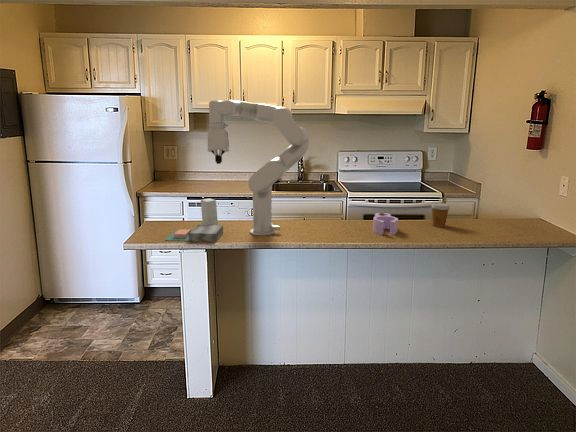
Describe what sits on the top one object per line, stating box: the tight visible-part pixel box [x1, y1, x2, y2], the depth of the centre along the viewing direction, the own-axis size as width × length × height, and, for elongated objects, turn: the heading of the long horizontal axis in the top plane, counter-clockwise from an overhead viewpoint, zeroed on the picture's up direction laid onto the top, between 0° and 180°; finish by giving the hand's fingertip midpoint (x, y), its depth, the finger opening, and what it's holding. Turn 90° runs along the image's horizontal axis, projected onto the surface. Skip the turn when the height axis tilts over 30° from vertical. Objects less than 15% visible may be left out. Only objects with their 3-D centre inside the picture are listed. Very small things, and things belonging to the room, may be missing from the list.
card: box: [173, 228, 192, 238], centre depth 224 cm, size 6×9×2 cm, turn 176°
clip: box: [372, 212, 399, 236], centre depth 236 cm, size 20×12×7 cm, turn 178°
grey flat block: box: [188, 224, 224, 243], centre depth 222 cm, size 13×16×4 cm
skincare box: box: [200, 198, 219, 225], centre depth 241 cm, size 8×6×15 cm
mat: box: [165, 230, 190, 242], centre depth 224 cm, size 11×16×1 cm
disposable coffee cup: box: [430, 202, 450, 228], centre depth 243 cm, size 10×10×12 cm
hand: (218, 163), depth 226 cm, fingers closed
